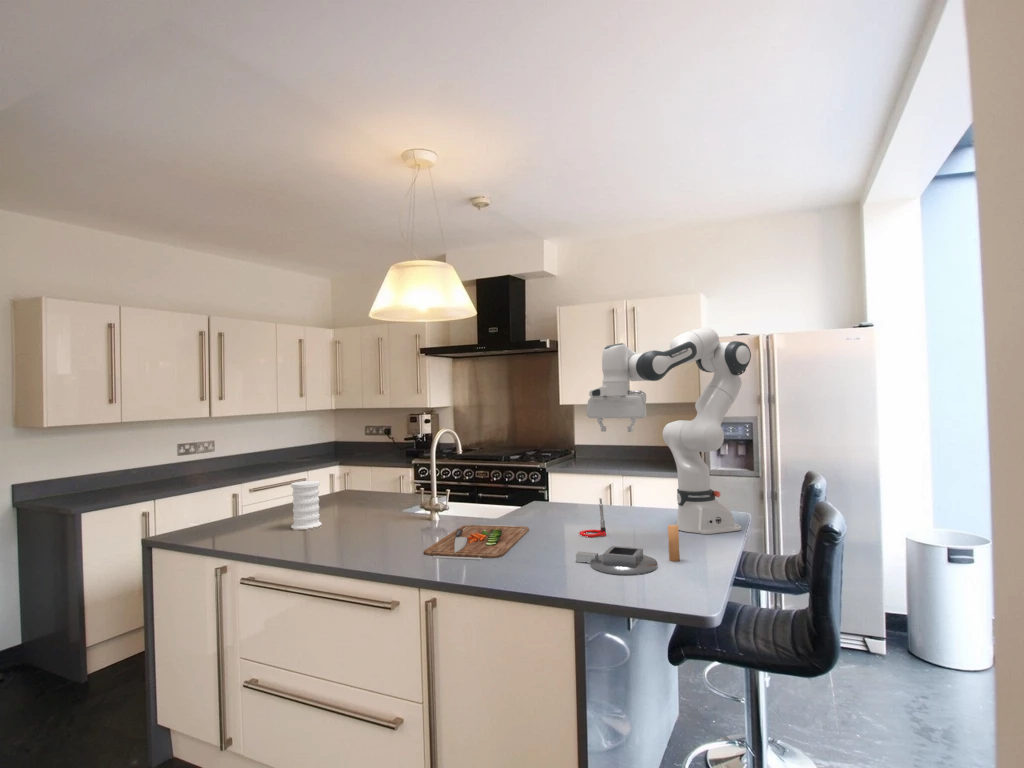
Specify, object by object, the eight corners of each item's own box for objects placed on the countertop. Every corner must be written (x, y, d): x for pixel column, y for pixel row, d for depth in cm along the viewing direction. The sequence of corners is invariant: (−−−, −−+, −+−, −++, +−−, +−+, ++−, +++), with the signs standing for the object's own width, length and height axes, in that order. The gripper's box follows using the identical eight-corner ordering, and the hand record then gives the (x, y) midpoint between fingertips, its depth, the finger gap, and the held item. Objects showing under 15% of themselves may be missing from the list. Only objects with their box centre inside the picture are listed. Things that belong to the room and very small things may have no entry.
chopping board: (498, 562, 176) (497, 552, 176) (417, 558, 183) (416, 549, 183) (532, 528, 220) (532, 520, 220) (466, 526, 227) (465, 519, 227)
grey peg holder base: (587, 552, 182) (587, 539, 182) (663, 559, 172) (662, 545, 172) (566, 569, 165) (566, 555, 165) (649, 578, 155) (649, 563, 155)
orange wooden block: (677, 558, 173) (676, 524, 173) (681, 561, 170) (680, 526, 170) (667, 558, 173) (666, 525, 173) (671, 561, 170) (670, 527, 170)
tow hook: (580, 539, 201) (607, 537, 201) (577, 501, 202) (604, 500, 201) (578, 533, 210) (604, 531, 209) (575, 497, 210) (601, 496, 210)
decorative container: (285, 529, 231) (284, 483, 231) (310, 523, 241) (309, 479, 241) (303, 532, 224) (301, 485, 225) (327, 526, 234) (326, 481, 234)
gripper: (648, 390, 195) (649, 431, 195) (591, 391, 205) (592, 430, 204) (643, 390, 190) (644, 432, 189) (584, 391, 199) (585, 432, 199)
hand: (616, 431), depth 197 cm, fingers open, 8 cm apart
